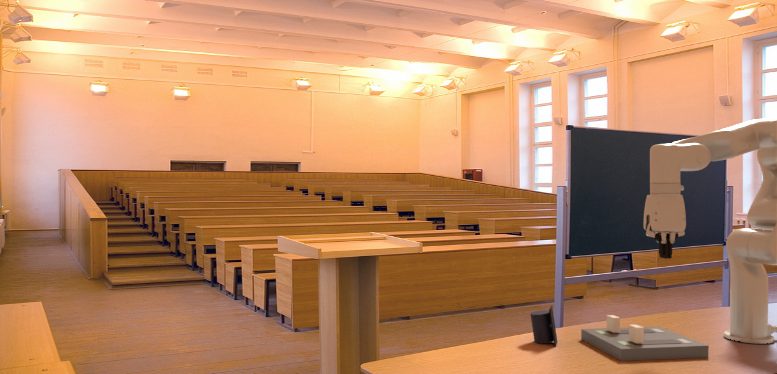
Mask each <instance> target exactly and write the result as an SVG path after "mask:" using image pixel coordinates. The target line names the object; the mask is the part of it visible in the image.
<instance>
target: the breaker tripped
mask: <svg viewBox="0 0 777 374" xmlns="http://www.w3.org/2000/svg"><path fill="white" fill-rule="evenodd" d="M628 327H629V340H630V341H632V342H634V343H644V327H645V326H642V325H639V324H629V325H628Z"/></svg>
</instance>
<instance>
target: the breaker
mask: <svg viewBox="0 0 777 374" xmlns="http://www.w3.org/2000/svg"><path fill="white" fill-rule="evenodd" d="M606 328H607V330H609V331H611V332H620V328H621V317H619V316H617V315H614V314H611V315H609V314H607V315H606Z"/></svg>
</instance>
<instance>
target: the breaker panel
mask: <svg viewBox="0 0 777 374" xmlns="http://www.w3.org/2000/svg"><path fill="white" fill-rule="evenodd" d="M643 327H644V343H634V342H632V341H630V340H629V326H628V327H627V326H626V327H620V332H611V331H609V330H607V327H605V328H603V327H602V328H581V331H580V332H581V334H580V335H581V341H584V342H586V343H587V344H589V345H591V346H592V347H594V348H596V349H599V350H600V351H601V352H604V353H605V354H608V355H609V356H611V357H612V358H613V357H614V359H616V360H618V361H621V362H625V361H626V362H628V361H647V360H648V361H650V360H651V361H652V360H654V361H655V360H656V361H657V360H674V359H675V360H676V359H680V360H681V359H698V358H699V359H702V358H709V344H705V343H703V342H700V341H697V340H695V339H693V338H690V337H687V336H686V335H682V334H680V333H677V332H675V331H672V330H669V329H667V328H664V327H661V326H643Z"/></svg>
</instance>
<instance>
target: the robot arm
mask: <svg viewBox="0 0 777 374" xmlns="http://www.w3.org/2000/svg"><path fill="white" fill-rule="evenodd" d="M756 150H757V151H756ZM753 151H756V157H757V161H758V164H759V167H760V171H761V173H762V183H761V185H760V187H759V190H758V192H757V193H756V196H755V197H754V199H753V201H752V203H751V205H750V206H749V209H748V210H747V216H746V219H747V222H748V224H749V225H750V226H751V227H752V228H751V227H750V228H749V227H747V228H746V227H744V228H743V227H742V228H737V229H735V230H733V231H732V232H730V234H729V235H728V236H727V239H726V244H725V246H726V252H727V257H728V261H729V275H730V279H729V281H730V282H729V329H728V330H725V331H724V332H723V337H724V338H725V339H728V340H730V339H731V340H730V341H734V340H735V341H734V342H738V341H740V343H746V344H756V345H757V344H759V345H763V344H764V345H765V344H767V343H768V344H772V343H774V342H775V337H774V336H773V335H772V334H774V333H777V325H772V324H771V323H769V276H768V273H767V271H766V268H765V266H764V265H769V266H770V265H771V266H777V117H770V118H769V117H768V118H757V119H752V120H746V121H744V122H741V123H738V124H734V125H732V126H728V127H725V128H722V129H720V130H719V129H718V130H715V131H711V132H707V133H704V134H700V135H697V136H693V137H689V138H686V139H685V138H684V139H681V140H677V141H673V142H672V143H659V144H654V145H652V146H651V147H650V149H649V194H647V195H646V198H645V204H644V211H643V229H644V230H645V231H646V232H645V235H646V236H647V237H650V238H653V239H654V240H655V242H656V243H658V255H659V258H660V259H664V260H665V259H673V257H672V256H673V244H674V243H675V242H676V240H677V238H678V237H683V236H685V234H686V232H685V230H686V227H687V218H686V217H687V216H686V215H687V214H686V208H685V200H684V195H683V194H681V192H682V191H684V190H685V186H684V185H682V184H681V172H695V171H700V170H703V169H705V168H707V167H708V165H709V164H710V163H711V162H718V161H719V162H720V161H724V160H729V159H733V158H736V157H739V156H741V155H745V154H748V153H751V152H753Z"/></svg>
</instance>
